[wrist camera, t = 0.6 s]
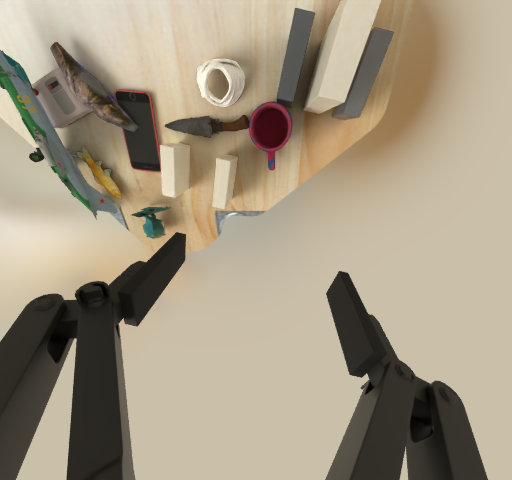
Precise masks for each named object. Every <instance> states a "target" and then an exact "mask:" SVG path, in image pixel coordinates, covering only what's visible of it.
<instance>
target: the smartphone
mask: <svg viewBox="0 0 512 480" xmlns="http://www.w3.org/2000/svg"><path fill="white" fill-rule="evenodd" d="M115 98H116V102H117V103H118V105H119V106H120V107H121V108H122V109H123V110H124V111H125V112H126V113H127V114H128V115H129V117H130V118H131V119H132V120H133V122H134V123H135V124H136V125H137V126H138V127H139V128H138V129H137V130H136V131H135V132H132V131H129V130H127V129H124V128H123V133H124V137H125V141H126V146H127V150H128V154H129V158H130V163H131V166H132V168H133V169H136V170H143V171H151V172H161V158H160V150H159V145H158V139H157V132H156V126H155V119H154V113H153V107H152V100H151V96H150V95H149V94H148V93H146V92H139V91H128V90H116V91H115Z"/></svg>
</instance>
